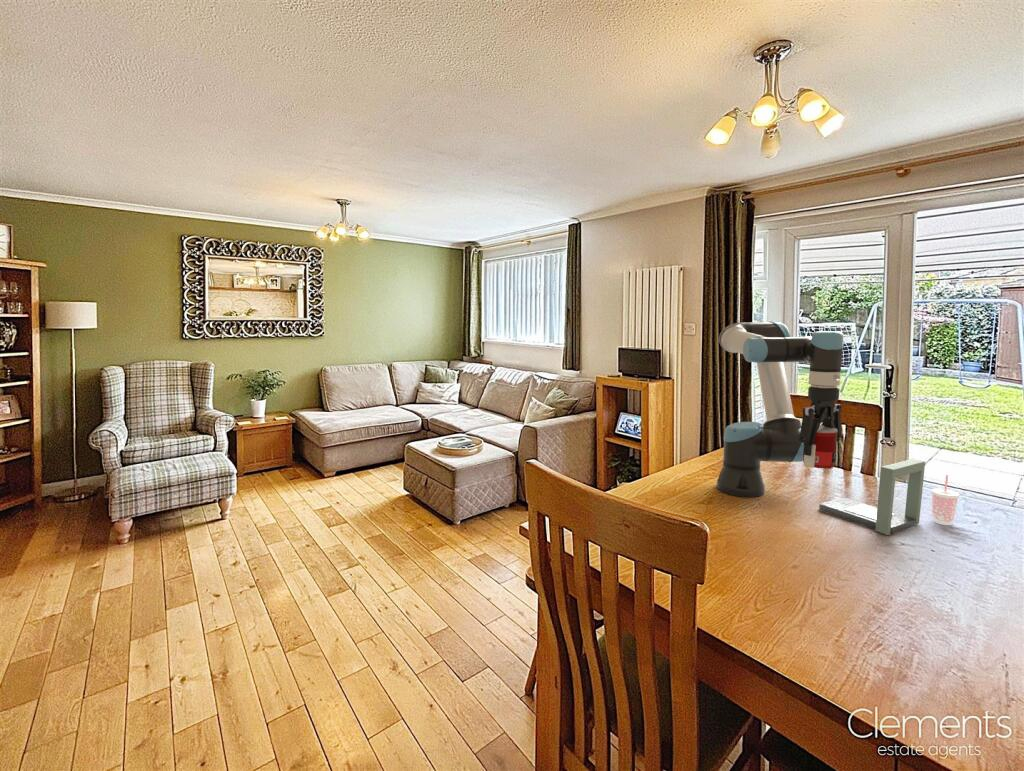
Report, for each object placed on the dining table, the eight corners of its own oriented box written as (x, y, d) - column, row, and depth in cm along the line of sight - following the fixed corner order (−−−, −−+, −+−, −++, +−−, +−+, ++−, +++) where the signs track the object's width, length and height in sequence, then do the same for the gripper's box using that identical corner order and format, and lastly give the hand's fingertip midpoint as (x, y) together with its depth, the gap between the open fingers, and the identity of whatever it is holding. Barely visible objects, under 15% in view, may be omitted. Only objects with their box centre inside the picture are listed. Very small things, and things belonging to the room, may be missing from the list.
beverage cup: (943, 527, 141) (948, 479, 139) (922, 518, 147) (927, 472, 145) (962, 525, 142) (967, 477, 140) (940, 516, 148) (945, 471, 146)
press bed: (819, 509, 154) (819, 503, 154) (842, 503, 160) (843, 496, 159) (891, 534, 137) (891, 526, 136) (915, 526, 142) (916, 518, 141)
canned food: (839, 469, 140) (842, 431, 138) (807, 468, 141) (810, 430, 140) (828, 461, 147) (831, 425, 145) (798, 460, 149) (801, 424, 147)
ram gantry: (875, 530, 138) (880, 466, 136) (907, 520, 145) (912, 458, 143) (887, 534, 136) (893, 469, 133) (919, 523, 142) (925, 461, 140)
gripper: (812, 390, 133) (807, 472, 136) (860, 385, 142) (854, 462, 145) (787, 387, 140) (782, 465, 143) (834, 382, 149) (828, 456, 152)
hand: (818, 464), depth 144 cm, fingers closed on canned food, 8 cm apart
